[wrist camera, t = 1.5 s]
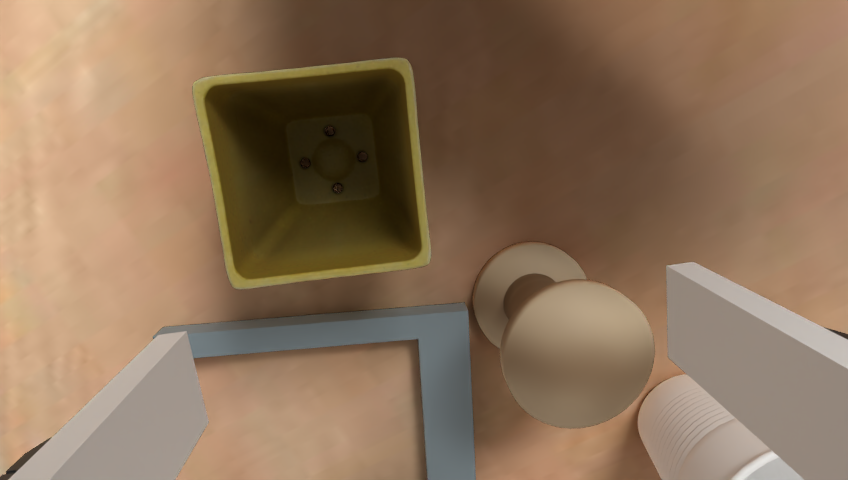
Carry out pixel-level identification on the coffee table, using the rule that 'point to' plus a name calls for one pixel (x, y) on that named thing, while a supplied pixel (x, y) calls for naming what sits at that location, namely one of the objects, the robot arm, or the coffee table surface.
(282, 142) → the flower pot
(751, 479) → the cup
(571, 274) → the bobbin
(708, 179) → the coffee table surface
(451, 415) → the blue-grey u-shaped bracket
